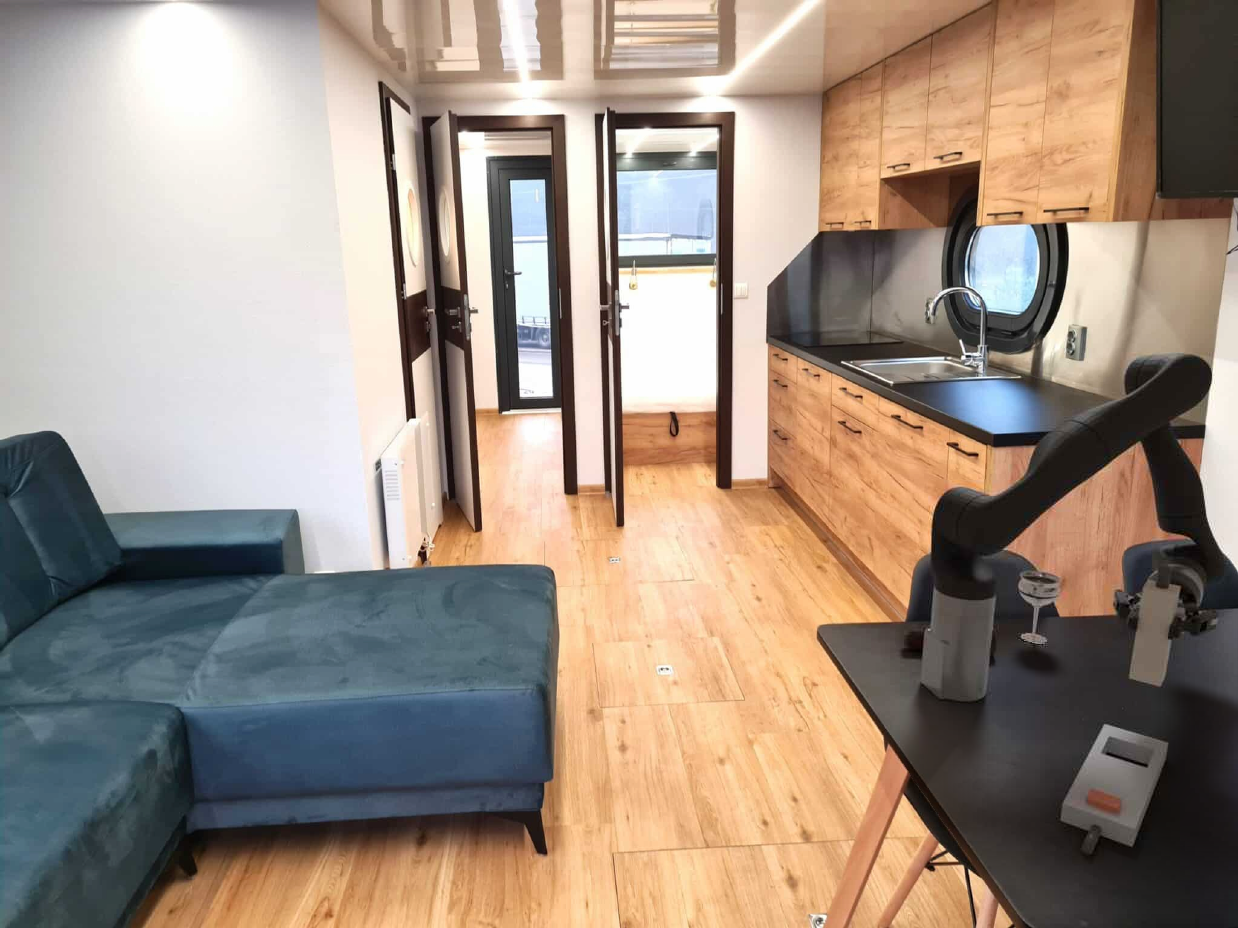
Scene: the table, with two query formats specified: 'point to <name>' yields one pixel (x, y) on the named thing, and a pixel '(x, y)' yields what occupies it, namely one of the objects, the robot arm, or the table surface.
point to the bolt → (917, 640)
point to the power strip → (1114, 787)
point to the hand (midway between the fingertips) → (1152, 628)
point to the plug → (1154, 628)
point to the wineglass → (1038, 596)
